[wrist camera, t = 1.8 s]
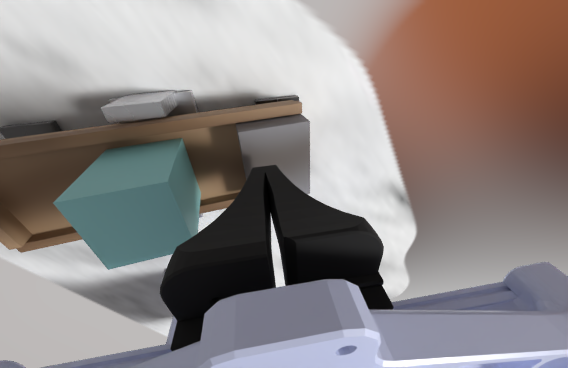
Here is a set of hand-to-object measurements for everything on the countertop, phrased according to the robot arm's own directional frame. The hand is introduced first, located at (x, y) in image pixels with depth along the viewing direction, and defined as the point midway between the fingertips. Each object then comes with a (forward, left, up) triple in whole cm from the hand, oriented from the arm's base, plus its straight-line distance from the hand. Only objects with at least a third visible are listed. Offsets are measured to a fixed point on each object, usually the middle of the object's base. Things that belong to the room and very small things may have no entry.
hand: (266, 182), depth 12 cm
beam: (0, +7, -4) cm, 8 cm away
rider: (0, +7, -3) cm, 7 cm away
